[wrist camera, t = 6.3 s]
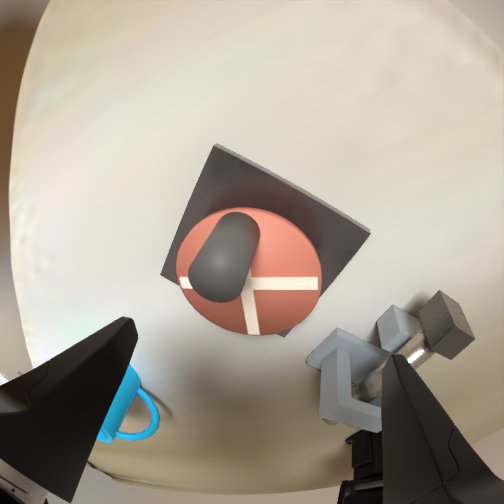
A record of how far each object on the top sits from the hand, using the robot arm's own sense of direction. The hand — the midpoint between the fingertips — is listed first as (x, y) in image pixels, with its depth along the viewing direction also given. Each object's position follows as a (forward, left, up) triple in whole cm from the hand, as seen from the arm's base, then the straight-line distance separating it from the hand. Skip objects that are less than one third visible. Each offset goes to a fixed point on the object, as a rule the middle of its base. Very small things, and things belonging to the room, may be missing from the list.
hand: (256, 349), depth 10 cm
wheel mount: (+1, +3, -10) cm, 10 cm away
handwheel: (+1, +3, -8) cm, 9 cm away
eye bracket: (-11, +5, -10) cm, 16 cm away
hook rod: (-11, +4, -8) cm, 14 cm away
